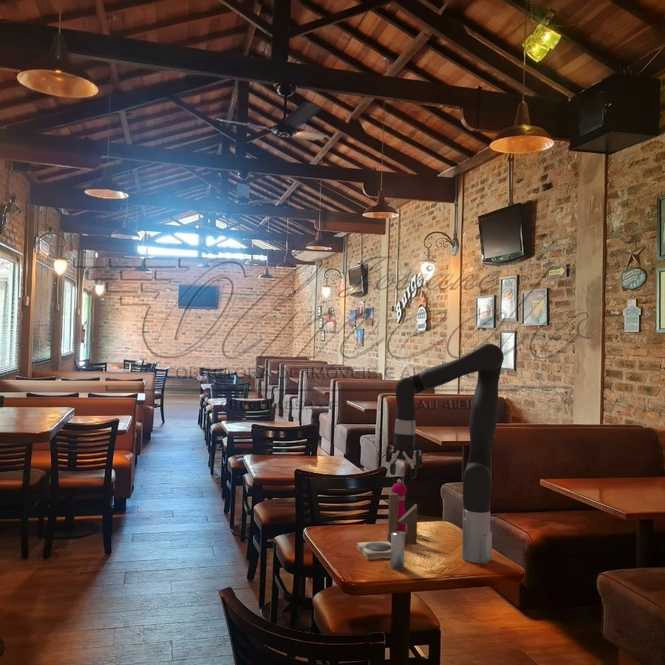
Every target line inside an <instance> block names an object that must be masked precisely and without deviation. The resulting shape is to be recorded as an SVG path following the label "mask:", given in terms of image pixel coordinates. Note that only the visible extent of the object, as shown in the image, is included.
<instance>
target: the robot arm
mask: <svg viewBox="0 0 665 665" xmlns="http://www.w3.org/2000/svg"><path fill="white" fill-rule="evenodd" d="M504 358H505V356H504V352H503V350H502V349H501V348H500V346H498V345H496V344H495V343H494V344H493V343H485V344H483V345H481V346H480V347H478V348H476V349H475V350H473V351H472V352H470V353H468V354H466V355H464V356H461V357H459V358H456V359H454V360H451V361H448V362H445V363H440V364H438V365H435V366H433V367H429V368H427V369H425V370H423V371H421V372H420V373H417V374H413V375H411V376H407V377H402V378H400V379H399V380H398V381H397V382H396V385H395V402H396V409H395V410H396V412H395V423H394V435H393V444H394V445H392V444H391V445H387V446H386V450H385V452H386V453H385V460H384V461H385V462H386V463H389V473H390V475H393V476H394V475H396V474H397V472H396V471H397V470H396V468H397V464H396V463H397V462H398V461H401V460H402V461H405V462H407V463H408V464H409V466H410V479H411V480H414V479H416V478H417V476H418V475H417V474H418V473H417V471H418V468H422V466H423V450H421V449H420V450H415V445H416V426H417V425H416V406H415V396H416V395H418V394H421V393H422V392H424V391H426V390H431V389H434V388H437V387H440V386H443V385H445V384H447V383H450V382H453V381H455V380H457V379H459V378H461V377H463V376H466V375H469V374H472V373H477V380H476V381H477V382H476V387H475V390H474V394H473V398H472V401H471V407H470V414H469V415H470V417H469V440H470V441H469V453H468V459H467V463H466V467H465V470H464V471H463V476H462V509H463V510H462V543H461V544H462V547H461V548H462V549H461V556H462V557H461V558H462V560H464V561H466V562H468V563H473V564H483V565H486V564H487V563H489V562H490V561H491V560H492V556H493V555H492V550H493V549H492V547H493V546H492V545H493V544H492V543H493V542H492V541H493V532H492V531H491V484H492V483H491V480H492V470H491V462H492V461H491V456H492V447H493V443H494V438H495V436H496V435H495V434H496V430H497V422H498V413H499V381H500V377H501V376H500V375H501V371H502V368H503V363H504ZM393 452H394V454H393Z"/></svg>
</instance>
